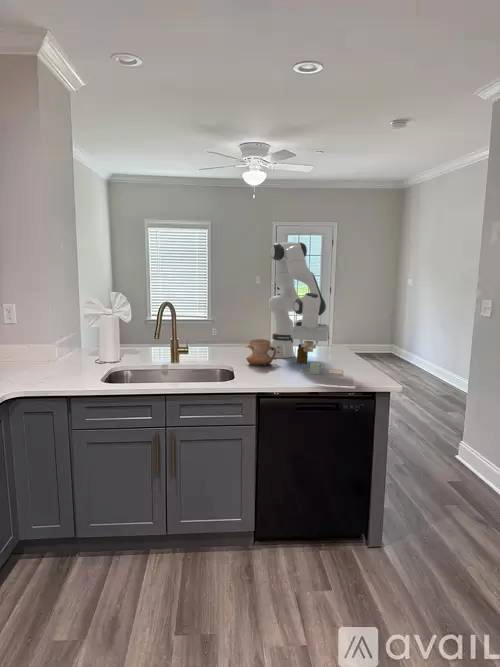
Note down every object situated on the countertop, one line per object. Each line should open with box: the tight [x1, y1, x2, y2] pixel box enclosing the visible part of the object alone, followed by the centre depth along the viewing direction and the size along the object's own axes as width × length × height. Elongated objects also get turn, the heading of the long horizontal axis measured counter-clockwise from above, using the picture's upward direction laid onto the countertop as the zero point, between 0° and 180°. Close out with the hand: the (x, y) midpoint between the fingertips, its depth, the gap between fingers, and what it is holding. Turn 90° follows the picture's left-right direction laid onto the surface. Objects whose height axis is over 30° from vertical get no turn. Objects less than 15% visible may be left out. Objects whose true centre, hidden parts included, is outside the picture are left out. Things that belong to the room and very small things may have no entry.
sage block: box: [309, 362, 321, 375], centre depth 230 cm, size 5×5×5 cm
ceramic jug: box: [245, 338, 276, 367], centre depth 250 cm, size 18×14×14 cm
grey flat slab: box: [300, 366, 344, 378], centre depth 234 cm, size 22×15×1 cm
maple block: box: [303, 340, 315, 353], centre depth 238 cm, size 5×5×5 cm
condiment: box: [296, 343, 309, 365], centre depth 252 cm, size 7×8×12 cm
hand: (308, 347), depth 239 cm, fingers closed on maple block, 5 cm apart
